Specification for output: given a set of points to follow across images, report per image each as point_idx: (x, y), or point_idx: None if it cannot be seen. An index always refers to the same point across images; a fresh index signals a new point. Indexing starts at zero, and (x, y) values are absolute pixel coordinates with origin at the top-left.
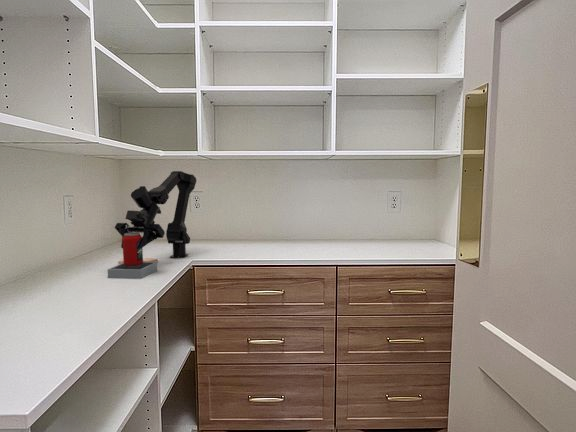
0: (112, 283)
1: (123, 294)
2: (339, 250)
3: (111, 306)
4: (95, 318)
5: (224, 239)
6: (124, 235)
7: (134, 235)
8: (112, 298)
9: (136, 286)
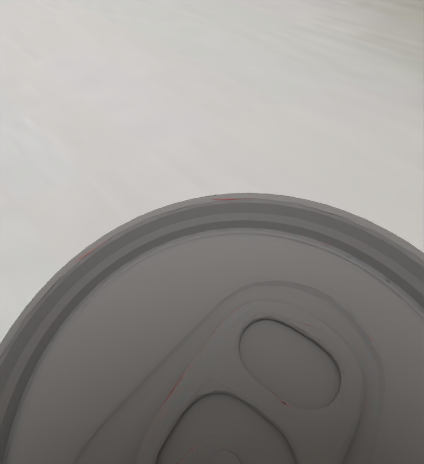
0: (204, 193)
1: (53, 119)
2: None
3: (26, 50)
4: (18, 4)
5: None
6: (337, 225)
7: (40, 313)
8: (65, 84)
9: (59, 202)
